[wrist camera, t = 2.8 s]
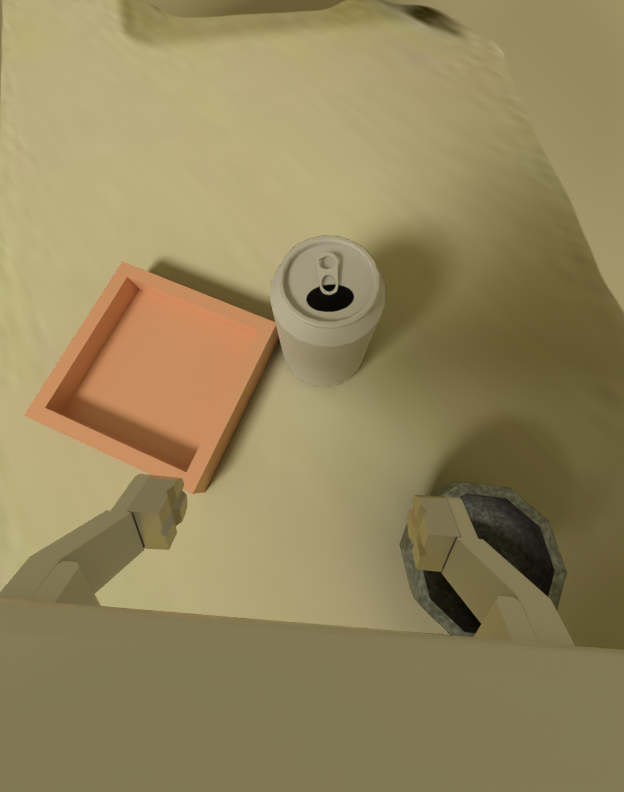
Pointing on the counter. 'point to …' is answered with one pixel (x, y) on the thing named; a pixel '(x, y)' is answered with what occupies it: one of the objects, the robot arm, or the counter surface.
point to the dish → (158, 376)
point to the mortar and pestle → (507, 534)
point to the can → (326, 308)
